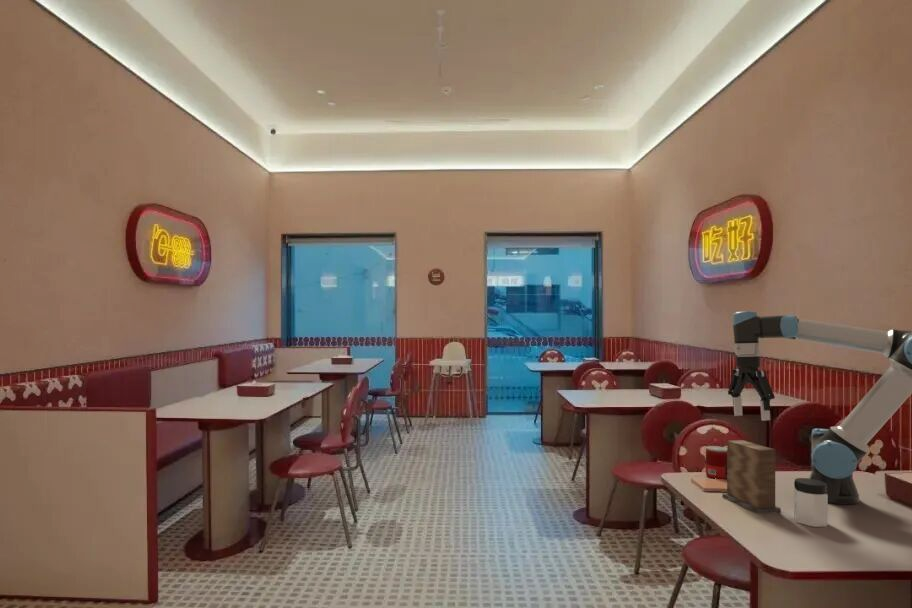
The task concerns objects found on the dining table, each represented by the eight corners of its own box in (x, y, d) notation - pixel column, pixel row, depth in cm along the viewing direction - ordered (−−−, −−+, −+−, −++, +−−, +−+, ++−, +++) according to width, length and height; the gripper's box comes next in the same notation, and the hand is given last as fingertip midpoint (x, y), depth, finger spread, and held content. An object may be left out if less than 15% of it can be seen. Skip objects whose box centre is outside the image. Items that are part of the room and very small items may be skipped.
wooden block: (722, 497, 188) (722, 440, 189) (742, 495, 190) (742, 439, 191) (759, 513, 173) (759, 451, 173) (780, 511, 175) (780, 450, 175)
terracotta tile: (724, 482, 206) (724, 479, 206) (738, 492, 194) (738, 489, 194) (691, 481, 206) (691, 478, 206) (703, 491, 194) (703, 487, 194)
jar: (791, 515, 172) (791, 476, 172) (822, 519, 169) (822, 479, 169) (797, 525, 163) (797, 483, 164) (830, 529, 160) (830, 487, 161)
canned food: (731, 480, 208) (731, 451, 209) (708, 479, 210) (708, 449, 210) (725, 475, 216) (725, 446, 216) (703, 473, 217) (703, 445, 218)
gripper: (715, 355, 205) (718, 414, 203) (763, 356, 180) (768, 423, 178) (733, 355, 206) (737, 413, 204) (783, 355, 181) (788, 421, 180)
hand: (751, 418), depth 191 cm, fingers open, 13 cm apart
